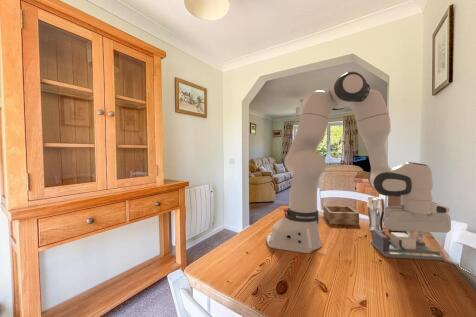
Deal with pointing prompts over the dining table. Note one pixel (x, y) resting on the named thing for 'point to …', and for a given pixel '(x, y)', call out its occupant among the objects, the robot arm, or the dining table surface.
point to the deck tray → (341, 215)
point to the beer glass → (375, 213)
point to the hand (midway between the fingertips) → (415, 242)
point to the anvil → (381, 240)
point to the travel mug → (395, 201)
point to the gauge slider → (403, 241)
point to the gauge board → (411, 252)
